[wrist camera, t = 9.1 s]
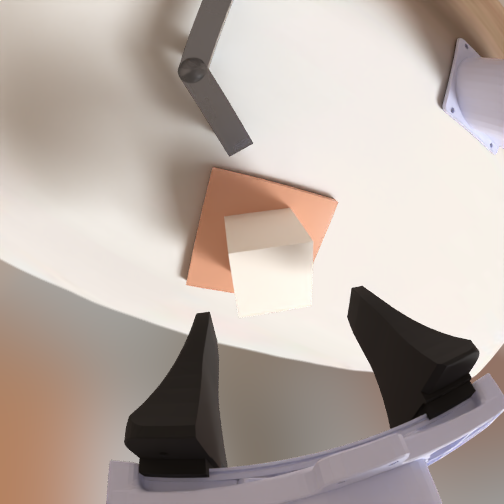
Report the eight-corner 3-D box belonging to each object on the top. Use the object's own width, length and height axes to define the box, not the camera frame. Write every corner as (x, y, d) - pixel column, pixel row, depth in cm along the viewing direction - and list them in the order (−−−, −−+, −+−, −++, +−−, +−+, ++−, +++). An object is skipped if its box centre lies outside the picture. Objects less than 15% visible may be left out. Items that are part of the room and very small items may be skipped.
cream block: (290, 207, 19) (313, 241, 15) (291, 263, 21) (311, 305, 17) (224, 216, 19) (228, 253, 15) (232, 272, 21) (238, 318, 17)
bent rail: (287, 8, 13) (304, -10, 10) (241, 150, 17) (247, 161, 14) (216, -10, 12) (217, -34, 8) (169, 134, 16) (159, 142, 13)
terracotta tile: (335, 199, 20) (338, 202, 19) (293, 297, 24) (295, 302, 23) (212, 166, 18) (212, 168, 17) (186, 280, 22) (186, 284, 21)
